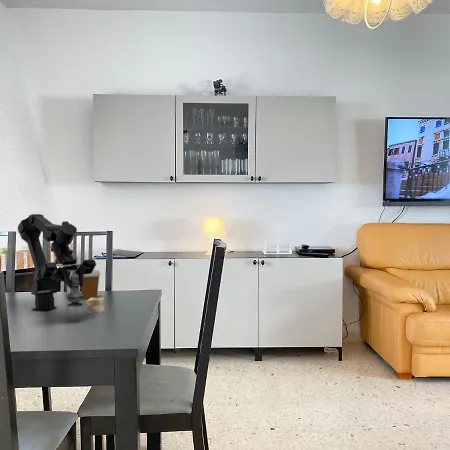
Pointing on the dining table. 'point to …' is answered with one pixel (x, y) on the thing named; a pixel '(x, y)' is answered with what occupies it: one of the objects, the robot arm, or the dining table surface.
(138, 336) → the dining table surface
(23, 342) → the dining table surface
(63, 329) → the dining table surface
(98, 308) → the maple block
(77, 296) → the grey tall rounded piece
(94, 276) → the disposable coffee cup
